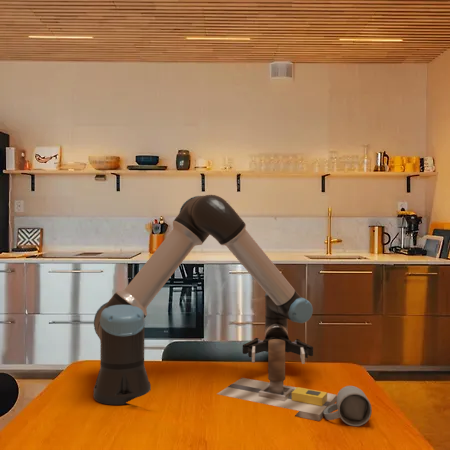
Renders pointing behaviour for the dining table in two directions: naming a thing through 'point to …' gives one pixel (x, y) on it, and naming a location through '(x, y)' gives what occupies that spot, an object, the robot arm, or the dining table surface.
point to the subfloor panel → (276, 397)
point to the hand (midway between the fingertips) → (278, 358)
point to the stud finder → (309, 396)
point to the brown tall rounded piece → (276, 365)
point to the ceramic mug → (350, 407)
